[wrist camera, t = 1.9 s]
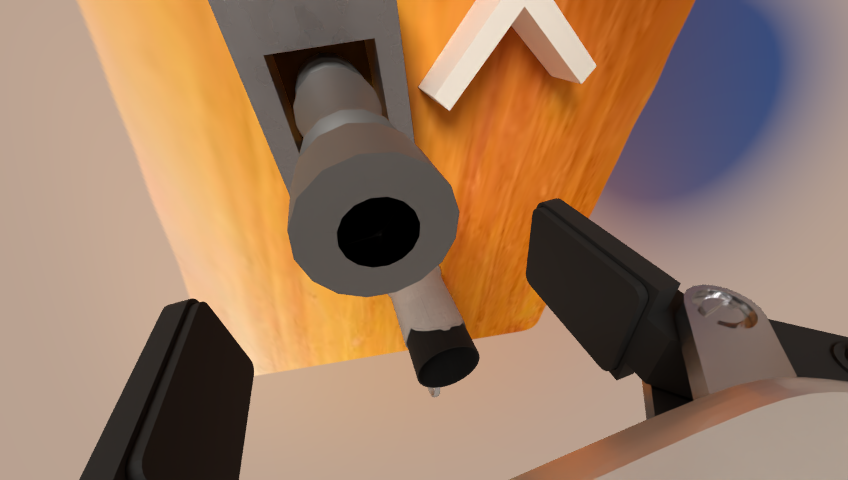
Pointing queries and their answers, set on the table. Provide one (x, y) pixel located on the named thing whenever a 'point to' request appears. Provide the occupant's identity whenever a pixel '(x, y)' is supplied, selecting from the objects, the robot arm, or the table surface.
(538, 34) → the angle bracket
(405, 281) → the candle holder
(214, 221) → the table surface
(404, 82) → the gray hollow block
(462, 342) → the glass holder
